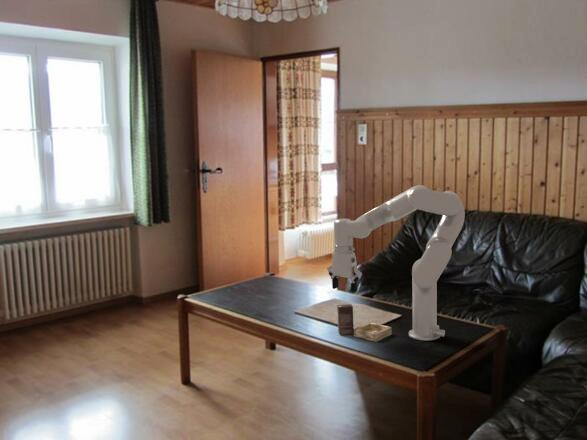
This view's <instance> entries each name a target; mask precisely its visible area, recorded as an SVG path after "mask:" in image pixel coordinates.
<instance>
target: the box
mask: <svg viewBox="0 0 587 440" xmlns="http://www.w3.org/2000/svg"><path fill="white" fill-rule="evenodd" d="M336 309H337V328H338V330H337V332H338V334H339V336H348V335H354V329H355V328H354V326H355V325H354V306H353V305H352V304H351V303H349V304H348V303H347V304H346V303H345V304H337V307H336Z"/></svg>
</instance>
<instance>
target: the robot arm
mask: <svg viewBox="0 0 587 440" xmlns="http://www.w3.org/2000/svg"><path fill="white" fill-rule="evenodd" d="M417 210H419V211H423V212H427V213H432V214H435V215H441V218H440V221H439V223H438V225H437V227H436V229H435V230H434V232H433V233H432V236H431V237H430V238H429V239H428V241H427V243H426V246H425V250H424V252H423V254H422V256H421V258H419V259H418V260H416V261H415V262H414V263H413V265H412V268H411V276H412V279H411V280H412V281H411V283H412V284H411V285H412V286H411V287H412V289H411V290H412V295H411V297H412V298H411V299H412V301H411V302H412V329H410V330H409V331H408V337H410V338H412V339H414V340H417V341H426V342H427V341H434V340H437V339H440V338H441V337H442V338H443V337H445V336H446V335H445V334H446V330H445V329H440V325H438V323H437V320H438V319H437V318H438V317H437V315H438V314H437V313H438V312H437V308H438V307H437V301H438V300H437V299H438V296H437V295H438V293H437V291H438V290H437V288H438V287H437V282H438V281H439V278H440V276H441V275H442V274H443V272H444V271H445V268H446V266H447V265H448V263H449V261H450V260H451V257H452V247H453V245H454V243H455V242H456V239H457V238H458V236H459V234H460V233H461V231H462V229H463V226H464V222H465V219H466V218H465V213H466V212H465V206H464V204H463V201H462V200H461V197H460V196H459V195H458V194H457V193H456V192H454V191H452V190H446V191H438V190H433V189H429V188H427V187H426V186H425V185H422V184H417V185H413V186H412V187H410V188H408V189H407V190H405V191H403V192H401V193H400V194H397V195H396V196H394V197H392V198H390V199H389V200H386V201H385V202H383V203H382V204H380V205H379V206H377V207H375V208H373V209H371V210H369V211H368V212H366V213H364V214H362V215H360V216H359V217H357V218H356V219H355V220H351V219H350V218H337V219H335V220H334V221H333V243H334V246H333V247H334V248H333V249H334V252H333V254H332V260H331V261H332V263H331V265H330V266H328V267H326V270H327V272H328V275H329V276H330V279H331V283H332V289H333V290H335V289H339V278H338V277H340V278H347V279H349V280H350V293H352V294H353V293H356V292H357V291H358V283H359V281H360V280H361V277H362V275H363V272H361V270H359V269H358V265H357V264H358V262H357V257H356V253H355V247H354V238H355V239H356V238H357V239H365V238H367V237H369V235H370V234H371V232H372V231H374V230H375V229H377V228H379V227H381V226H382V225H385V224H388V223H390V222H396V221H398V220H400V219H402V218H405V217H406V216H407V215H409V214H411V213H413V212H415V211H417Z"/></svg>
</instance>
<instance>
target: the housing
mask: <svg viewBox="0 0 587 440" xmlns="http://www.w3.org/2000/svg"><path fill="white" fill-rule="evenodd" d="M392 334H393V333H392V327H391V326H388V325H383V324H380V323H374V322H370V321H369V322H367V323H364V324H362V325H360V326H357V327H355V328H354V334H353V337H356V338H360V339H364V340H368V341H372V342H375V343H377V342H378V341H381V340H383V339H384V338H387V337H389V336H391V335H392Z"/></svg>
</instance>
